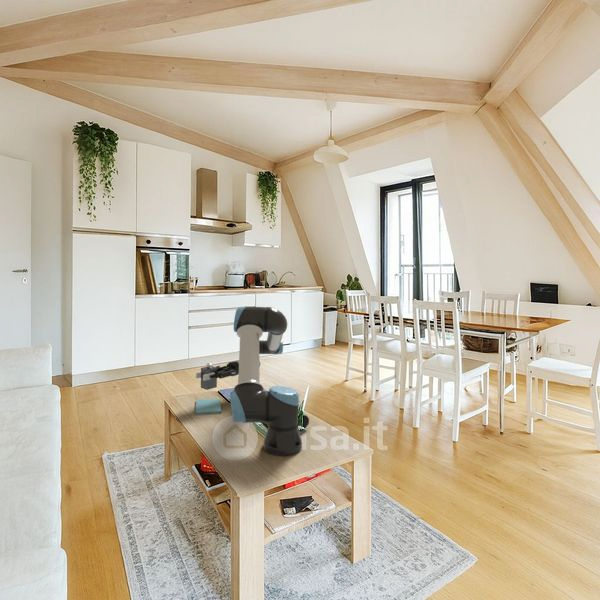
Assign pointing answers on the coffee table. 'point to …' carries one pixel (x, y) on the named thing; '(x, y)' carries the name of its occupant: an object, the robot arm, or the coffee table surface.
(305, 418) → the end cap
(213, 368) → the lock block
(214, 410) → the teal cloth
